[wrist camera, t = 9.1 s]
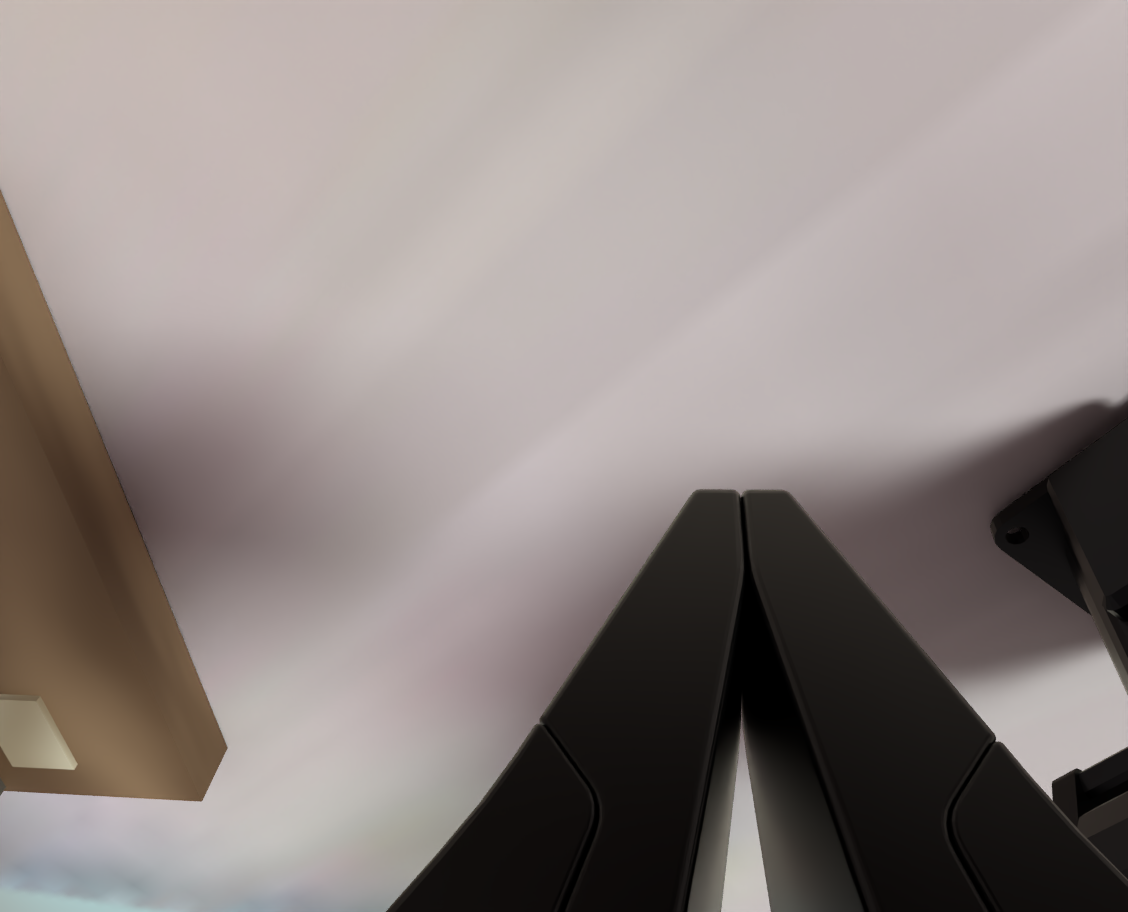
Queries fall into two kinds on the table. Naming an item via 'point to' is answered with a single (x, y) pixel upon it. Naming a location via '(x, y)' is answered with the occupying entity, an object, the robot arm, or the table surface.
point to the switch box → (80, 591)
